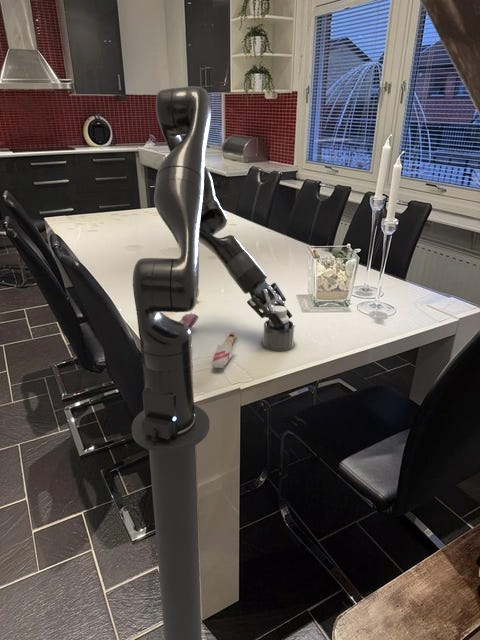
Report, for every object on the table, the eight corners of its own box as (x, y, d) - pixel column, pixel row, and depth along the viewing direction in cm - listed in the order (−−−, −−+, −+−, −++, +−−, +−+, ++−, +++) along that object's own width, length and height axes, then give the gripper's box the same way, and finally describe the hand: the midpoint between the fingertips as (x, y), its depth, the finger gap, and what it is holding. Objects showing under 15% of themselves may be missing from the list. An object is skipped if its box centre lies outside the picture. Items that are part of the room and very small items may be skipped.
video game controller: (178, 345, 128) (187, 326, 125) (164, 336, 129) (174, 317, 125) (194, 332, 137) (203, 313, 133) (181, 323, 137) (190, 305, 134)
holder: (289, 353, 122) (290, 332, 119) (259, 348, 124) (260, 328, 121) (295, 340, 129) (297, 320, 126) (267, 336, 131) (268, 316, 128)
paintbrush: (208, 360, 110) (226, 330, 129) (208, 371, 111) (226, 339, 130) (224, 362, 110) (239, 331, 128) (224, 372, 111) (239, 340, 129)
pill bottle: (264, 343, 125) (265, 309, 121) (272, 336, 129) (274, 303, 125) (282, 347, 123) (284, 313, 119) (290, 340, 127) (292, 306, 123)
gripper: (241, 270, 115) (284, 324, 115) (266, 257, 127) (305, 306, 126) (223, 287, 120) (264, 339, 119) (248, 272, 131) (286, 320, 131)
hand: (284, 322), depth 123 cm, fingers closed on pill bottle, 5 cm apart
